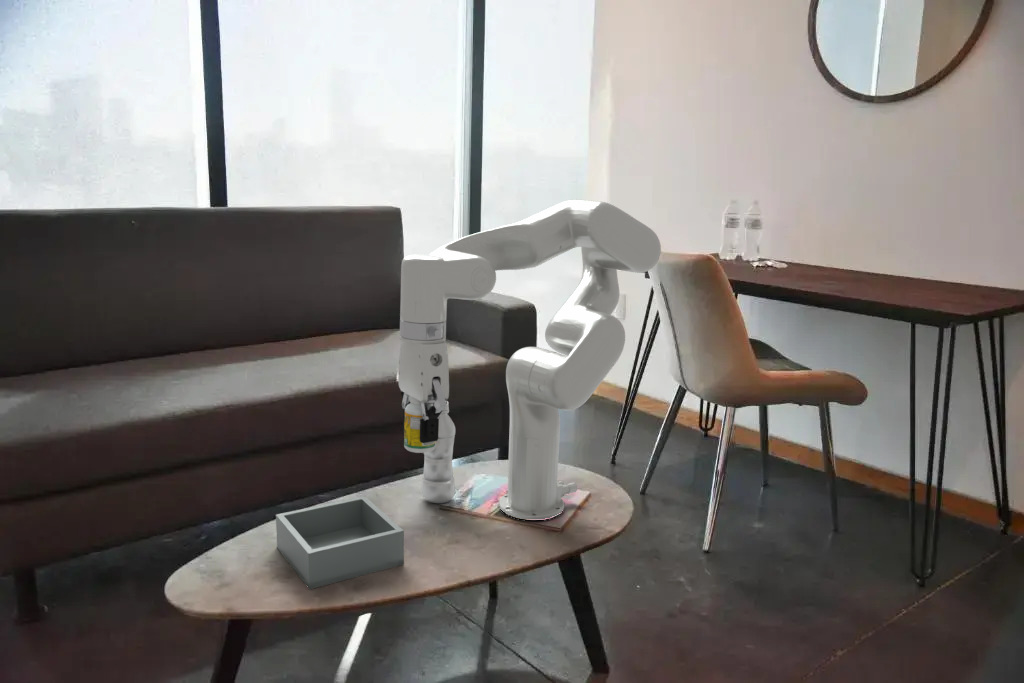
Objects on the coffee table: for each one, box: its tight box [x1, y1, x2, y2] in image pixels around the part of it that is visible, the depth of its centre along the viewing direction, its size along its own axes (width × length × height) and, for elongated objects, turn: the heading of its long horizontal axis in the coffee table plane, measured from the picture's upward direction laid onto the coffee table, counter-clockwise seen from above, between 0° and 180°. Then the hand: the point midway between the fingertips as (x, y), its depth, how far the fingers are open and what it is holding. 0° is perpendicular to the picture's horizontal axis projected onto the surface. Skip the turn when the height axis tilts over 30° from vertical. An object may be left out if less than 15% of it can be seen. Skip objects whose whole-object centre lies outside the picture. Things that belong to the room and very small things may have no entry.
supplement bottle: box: [403, 395, 436, 454], centre depth 136 cm, size 5×5×10 cm
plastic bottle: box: [420, 400, 456, 504], centre depth 157 cm, size 6×7×20 cm
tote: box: [275, 495, 405, 590], centre depth 135 cm, size 16×16×6 cm
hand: (420, 434), depth 136 cm, fingers closed on supplement bottle, 5 cm apart
